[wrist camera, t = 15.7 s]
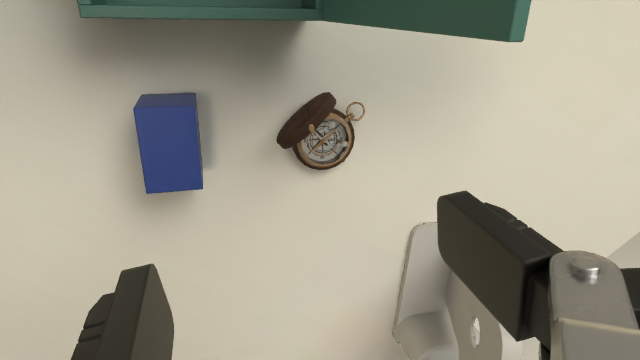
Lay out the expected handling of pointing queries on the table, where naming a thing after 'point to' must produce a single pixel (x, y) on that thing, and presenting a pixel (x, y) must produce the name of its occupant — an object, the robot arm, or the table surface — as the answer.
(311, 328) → the table surface
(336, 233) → the table surface
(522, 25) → the lunchbox lid
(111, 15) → the lunchbox
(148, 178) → the block
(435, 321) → the phone holder
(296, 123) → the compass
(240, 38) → the table surface
